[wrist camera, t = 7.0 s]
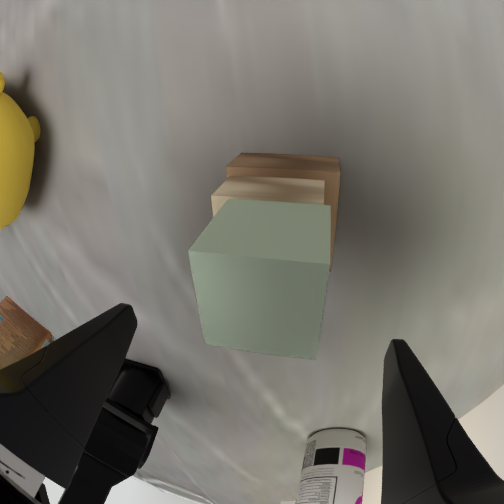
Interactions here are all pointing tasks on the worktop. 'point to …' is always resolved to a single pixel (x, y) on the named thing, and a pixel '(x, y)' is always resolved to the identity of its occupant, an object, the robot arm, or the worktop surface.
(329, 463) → the supplement can
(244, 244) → the sage cube
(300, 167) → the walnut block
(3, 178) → the teapot
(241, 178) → the maple block
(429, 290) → the worktop surface
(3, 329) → the milk carton
